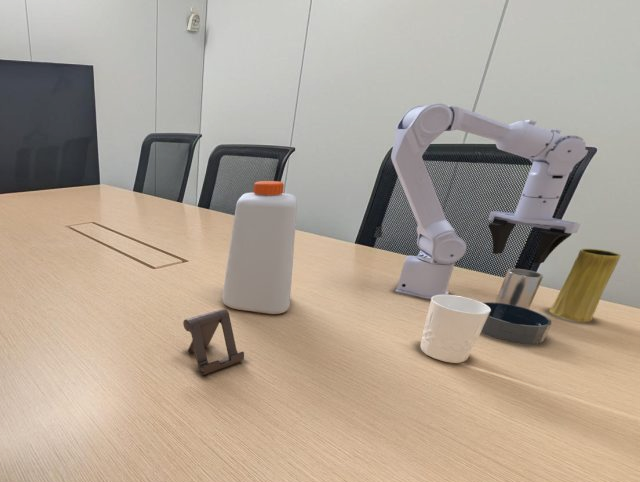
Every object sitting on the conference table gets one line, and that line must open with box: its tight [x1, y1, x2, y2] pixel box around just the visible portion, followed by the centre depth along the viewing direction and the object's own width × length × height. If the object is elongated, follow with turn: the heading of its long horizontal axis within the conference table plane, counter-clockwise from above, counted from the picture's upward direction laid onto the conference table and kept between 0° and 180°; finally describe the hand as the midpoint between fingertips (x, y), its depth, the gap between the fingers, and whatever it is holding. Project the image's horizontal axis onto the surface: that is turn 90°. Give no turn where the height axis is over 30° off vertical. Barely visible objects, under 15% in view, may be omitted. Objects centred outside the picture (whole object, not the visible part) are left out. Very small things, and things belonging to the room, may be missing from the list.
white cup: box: [419, 294, 491, 364], centre depth 66 cm, size 8×8×10 cm
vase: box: [549, 248, 622, 322], centre depth 77 cm, size 6×6×14 cm
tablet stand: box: [182, 308, 245, 376], centre depth 66 cm, size 9×8×8 cm
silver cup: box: [495, 268, 544, 310], centre depth 81 cm, size 5×5×9 cm
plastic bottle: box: [221, 180, 298, 315], centre depth 86 cm, size 15×15×28 cm
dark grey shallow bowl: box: [480, 301, 552, 345], centre depth 74 cm, size 11×11×4 cm
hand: (517, 257), depth 84 cm, fingers open, 7 cm apart
